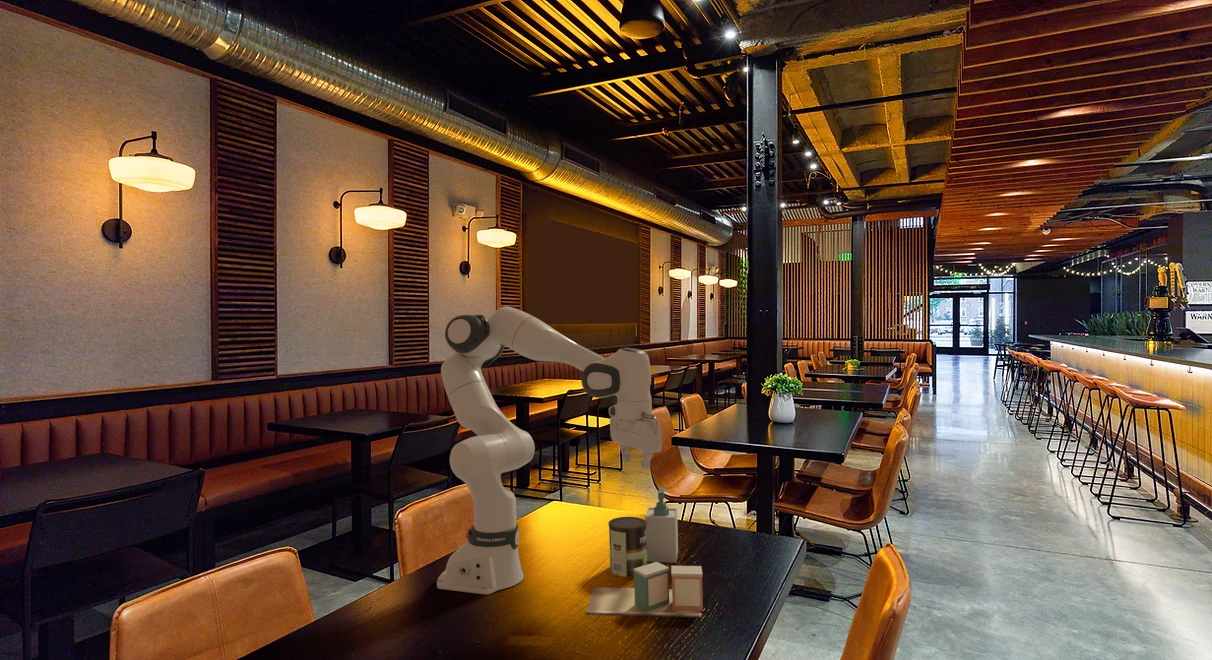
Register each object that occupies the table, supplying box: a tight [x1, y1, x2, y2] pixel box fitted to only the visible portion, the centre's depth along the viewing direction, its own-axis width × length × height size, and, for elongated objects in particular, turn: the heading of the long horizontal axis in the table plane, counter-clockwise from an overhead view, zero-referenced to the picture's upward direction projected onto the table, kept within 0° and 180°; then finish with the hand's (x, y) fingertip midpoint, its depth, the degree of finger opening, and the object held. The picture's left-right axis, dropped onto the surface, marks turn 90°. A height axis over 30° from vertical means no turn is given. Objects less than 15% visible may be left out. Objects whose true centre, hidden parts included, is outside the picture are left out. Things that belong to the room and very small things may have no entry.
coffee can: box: [608, 516, 648, 578], centre depth 158 cm, size 10×10×14 cm
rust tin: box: [670, 565, 704, 612], centre depth 136 cm, size 5×7×8 cm
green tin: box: [633, 562, 670, 612], centre depth 137 cm, size 5×7×8 cm
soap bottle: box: [644, 487, 679, 564], centre depth 170 cm, size 9×9×19 cm
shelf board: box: [585, 586, 703, 618], centre depth 139 cm, size 26×14×2 cm, turn 84°
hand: (635, 464), depth 151 cm, fingers open, 8 cm apart
